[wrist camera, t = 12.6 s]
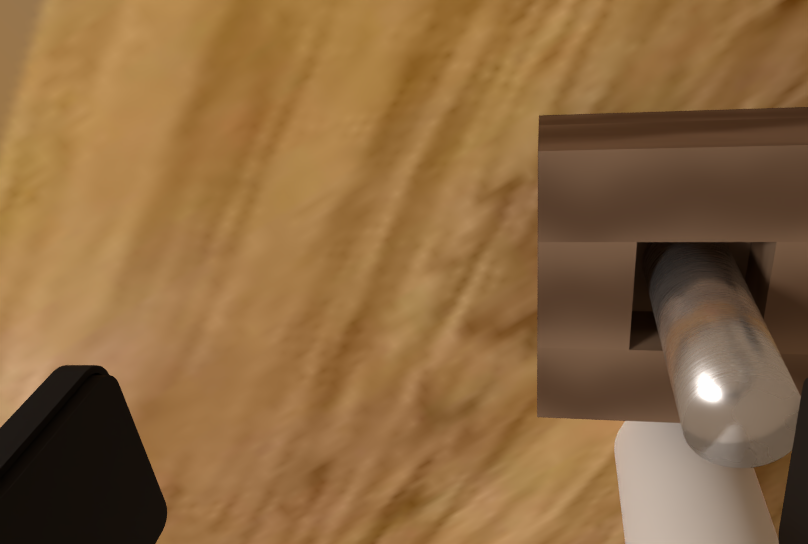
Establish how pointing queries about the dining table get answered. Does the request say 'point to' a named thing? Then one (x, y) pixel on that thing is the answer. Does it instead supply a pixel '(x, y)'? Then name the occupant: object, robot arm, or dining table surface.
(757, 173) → the walnut socket block
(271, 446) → the dining table surface
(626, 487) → the cylindrical container
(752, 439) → the steel peg
